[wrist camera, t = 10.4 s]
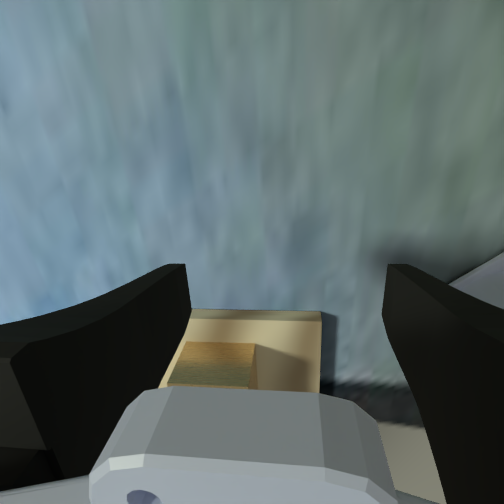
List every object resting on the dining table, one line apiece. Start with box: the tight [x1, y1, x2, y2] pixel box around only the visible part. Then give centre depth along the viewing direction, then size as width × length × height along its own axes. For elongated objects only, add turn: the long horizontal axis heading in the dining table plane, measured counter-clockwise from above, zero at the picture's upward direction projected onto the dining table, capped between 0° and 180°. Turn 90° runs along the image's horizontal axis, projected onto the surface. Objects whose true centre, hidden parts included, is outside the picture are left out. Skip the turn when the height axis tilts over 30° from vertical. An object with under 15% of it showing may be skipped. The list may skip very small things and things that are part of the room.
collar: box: [167, 341, 258, 390], centre depth 23 cm, size 5×5×4 cm
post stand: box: [158, 309, 322, 393], centre depth 24 cm, size 14×9×4 cm, turn 93°
